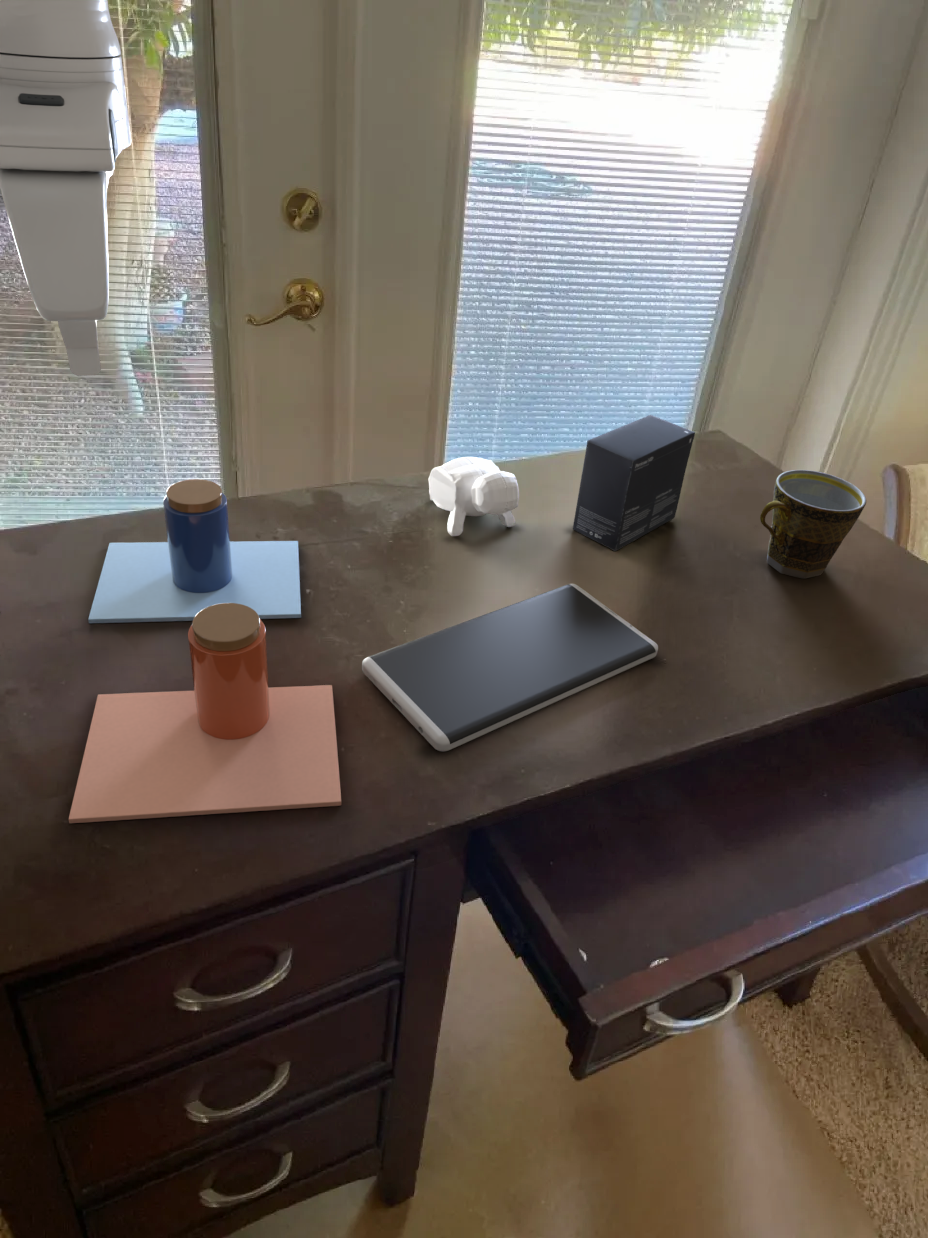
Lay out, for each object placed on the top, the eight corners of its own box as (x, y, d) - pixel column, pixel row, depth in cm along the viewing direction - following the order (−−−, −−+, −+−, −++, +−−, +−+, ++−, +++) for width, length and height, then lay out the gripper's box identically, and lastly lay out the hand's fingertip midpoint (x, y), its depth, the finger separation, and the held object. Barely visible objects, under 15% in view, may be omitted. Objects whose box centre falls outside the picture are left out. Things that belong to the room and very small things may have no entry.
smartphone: (357, 671, 83) (357, 657, 82) (570, 592, 97) (573, 579, 96) (439, 759, 75) (441, 744, 74) (659, 658, 89) (663, 645, 88)
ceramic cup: (796, 536, 112) (822, 464, 106) (854, 578, 105) (886, 504, 99) (715, 552, 107) (737, 478, 101) (771, 598, 100) (798, 520, 94)
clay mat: (69, 824, 66) (68, 819, 65) (98, 698, 77) (97, 694, 76) (341, 805, 69) (341, 801, 69) (332, 688, 81) (332, 684, 80)
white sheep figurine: (422, 526, 111) (475, 544, 98) (416, 458, 109) (470, 467, 96) (482, 517, 115) (542, 533, 102) (478, 450, 112) (538, 458, 99)
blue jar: (169, 594, 89) (158, 506, 83) (174, 561, 94) (165, 476, 88) (231, 592, 90) (224, 506, 84) (233, 560, 95) (227, 476, 89)
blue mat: (88, 623, 85) (87, 619, 85) (110, 546, 96) (109, 542, 96) (301, 618, 89) (301, 614, 88) (298, 544, 100) (298, 540, 99)
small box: (631, 498, 116) (651, 412, 109) (675, 519, 113) (698, 431, 106) (569, 529, 108) (586, 438, 101) (614, 552, 105) (635, 460, 98)
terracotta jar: (195, 742, 73) (183, 646, 67) (199, 693, 78) (189, 600, 72) (269, 738, 74) (264, 643, 68) (269, 690, 79) (265, 598, 73)
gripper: (-4, 80, 58) (36, 297, 66) (-28, 136, 43) (28, 408, 51) (100, 87, 60) (127, 296, 68) (112, 141, 45) (145, 402, 53)
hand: (85, 345), depth 59 cm, fingers open, 8 cm apart
